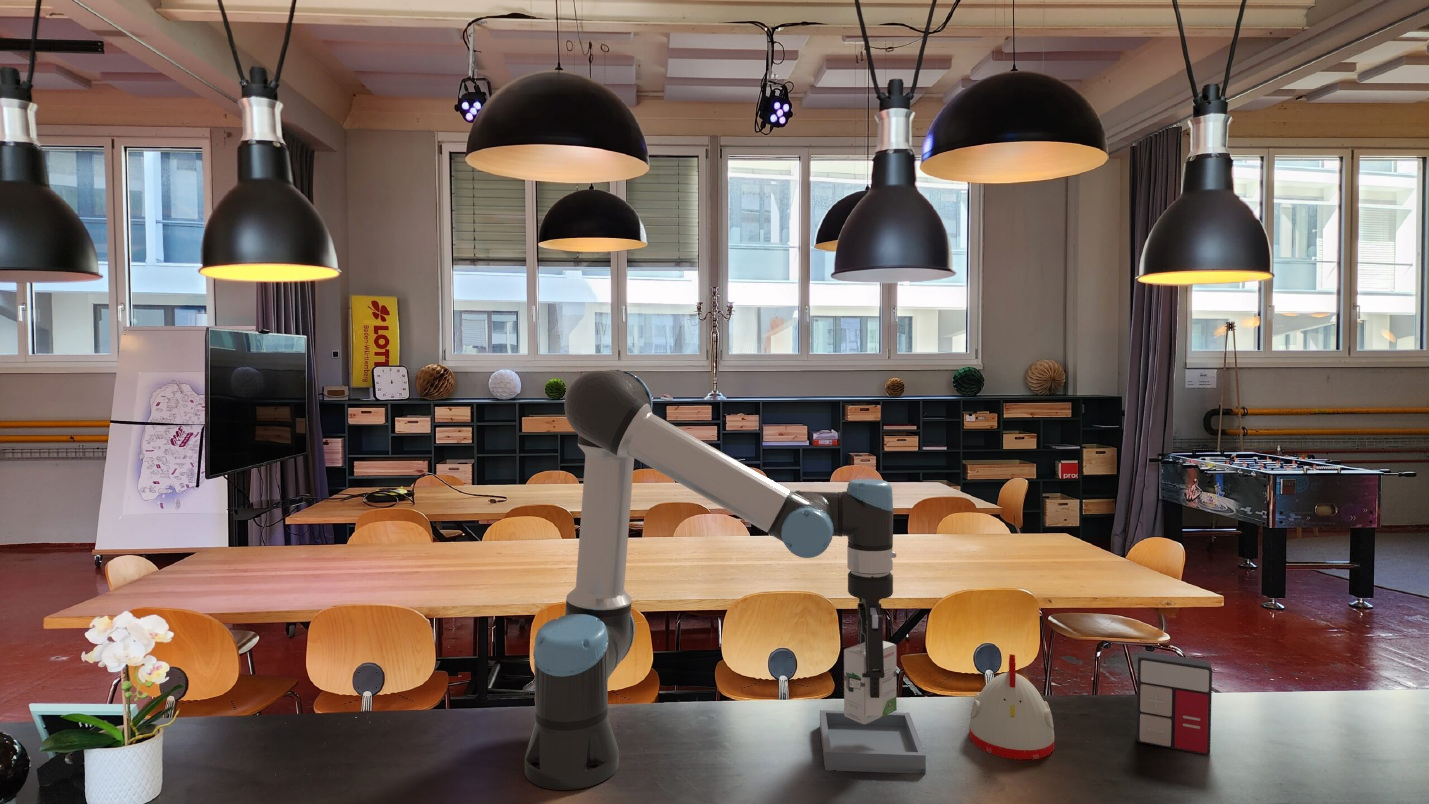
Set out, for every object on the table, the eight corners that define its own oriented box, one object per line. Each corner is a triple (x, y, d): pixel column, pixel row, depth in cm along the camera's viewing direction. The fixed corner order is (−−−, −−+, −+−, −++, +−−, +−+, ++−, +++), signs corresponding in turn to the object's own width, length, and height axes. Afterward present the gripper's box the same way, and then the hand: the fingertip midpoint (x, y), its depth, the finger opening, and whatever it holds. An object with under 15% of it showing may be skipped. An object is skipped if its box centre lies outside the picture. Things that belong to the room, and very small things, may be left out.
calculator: (1136, 743, 139) (1137, 658, 139) (1136, 733, 143) (1137, 650, 143) (1210, 757, 134) (1212, 669, 134) (1208, 747, 138) (1210, 660, 137)
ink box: (875, 702, 142) (875, 636, 142) (898, 711, 138) (898, 643, 138) (842, 715, 137) (842, 647, 136) (865, 725, 133) (865, 654, 132)
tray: (824, 769, 131) (824, 751, 130) (819, 726, 146) (819, 710, 146) (925, 773, 129) (925, 755, 129) (909, 729, 145) (909, 712, 145)
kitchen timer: (968, 752, 137) (969, 664, 136) (970, 718, 150) (971, 639, 149) (1057, 765, 132) (1058, 674, 132) (1051, 729, 145) (1052, 647, 145)
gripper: (902, 589, 125) (902, 731, 126) (884, 556, 147) (884, 678, 148) (853, 588, 126) (854, 730, 127) (842, 556, 148) (843, 677, 149)
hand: (870, 702), depth 137 cm, fingers closed on ink box, 9 cm apart
